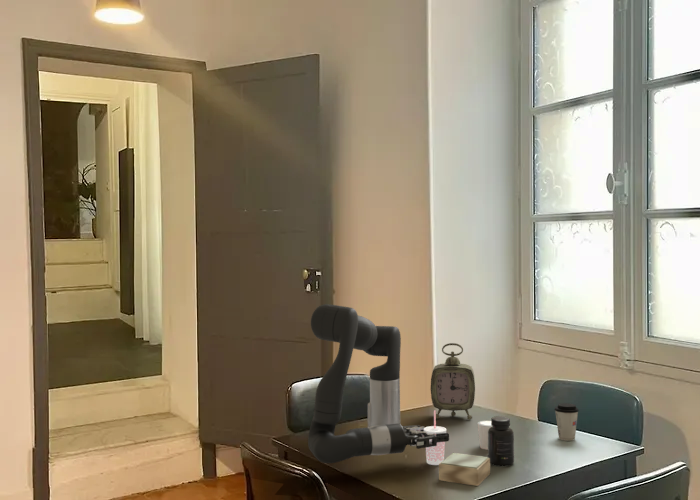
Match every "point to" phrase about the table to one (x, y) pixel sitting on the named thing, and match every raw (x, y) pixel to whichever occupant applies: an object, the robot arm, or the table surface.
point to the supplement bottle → (501, 442)
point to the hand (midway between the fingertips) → (443, 433)
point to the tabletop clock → (453, 385)
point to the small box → (464, 469)
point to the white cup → (484, 433)
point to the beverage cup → (435, 452)
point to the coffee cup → (566, 421)
